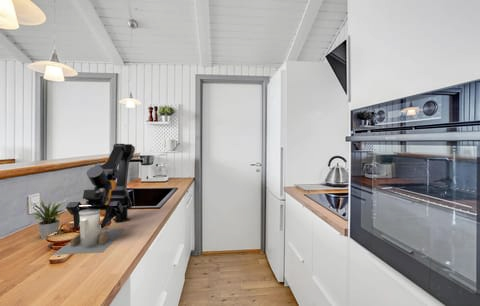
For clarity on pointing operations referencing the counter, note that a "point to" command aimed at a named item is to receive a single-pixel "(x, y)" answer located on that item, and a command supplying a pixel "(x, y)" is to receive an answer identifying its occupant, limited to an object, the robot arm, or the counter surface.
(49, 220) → the house plant
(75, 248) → the holder
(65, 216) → the counter surface
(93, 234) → the white mug
